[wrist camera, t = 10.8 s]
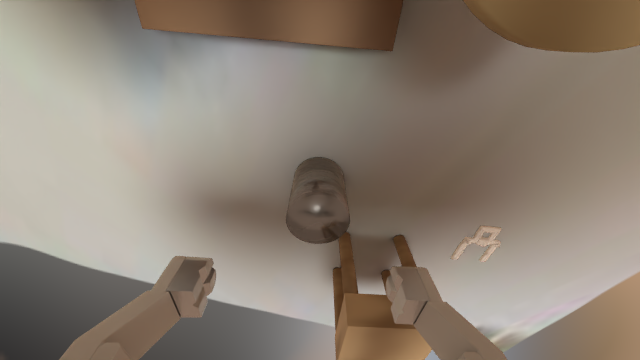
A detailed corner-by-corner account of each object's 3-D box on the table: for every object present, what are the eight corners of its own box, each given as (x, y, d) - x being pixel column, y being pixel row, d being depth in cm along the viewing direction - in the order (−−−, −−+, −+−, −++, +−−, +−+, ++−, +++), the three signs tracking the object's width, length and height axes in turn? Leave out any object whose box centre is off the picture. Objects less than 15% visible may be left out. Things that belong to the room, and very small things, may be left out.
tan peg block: (406, 235, 20) (446, 330, 13) (390, 276, 23) (416, 370, 16) (339, 231, 19) (347, 326, 13) (332, 273, 23) (336, 366, 16)
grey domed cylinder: (346, 159, 16) (354, 198, 12) (340, 200, 18) (345, 245, 14) (294, 155, 16) (286, 193, 12) (293, 197, 18) (286, 241, 14)
